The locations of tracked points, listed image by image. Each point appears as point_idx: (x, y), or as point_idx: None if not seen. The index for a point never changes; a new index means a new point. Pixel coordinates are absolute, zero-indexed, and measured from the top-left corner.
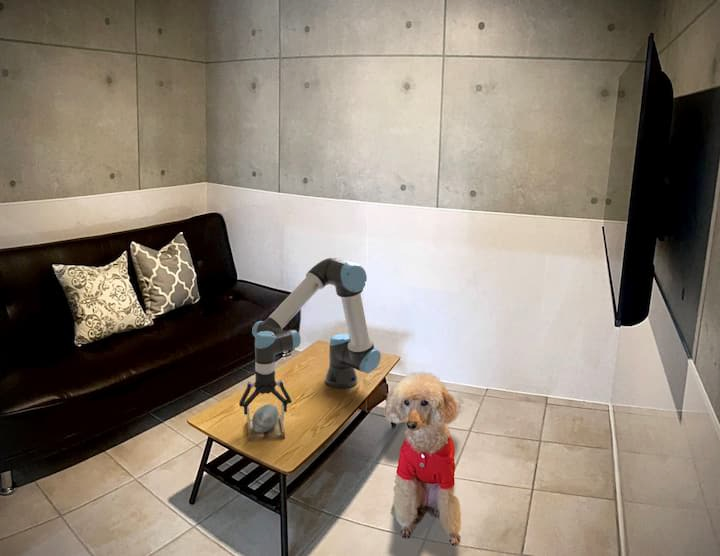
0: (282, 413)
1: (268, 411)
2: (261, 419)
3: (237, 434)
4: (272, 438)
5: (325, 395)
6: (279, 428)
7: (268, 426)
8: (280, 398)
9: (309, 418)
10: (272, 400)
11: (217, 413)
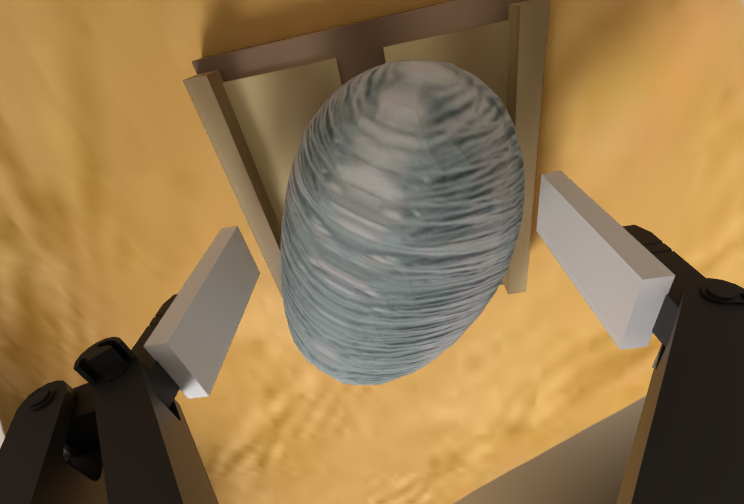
0: (207, 270)
1: (349, 265)
2: (426, 101)
3: (606, 112)
4: (304, 36)
5: None
6: (275, 183)
7: (336, 90)
8: (130, 455)
9: (146, 319)
10: (384, 433)
11: None
